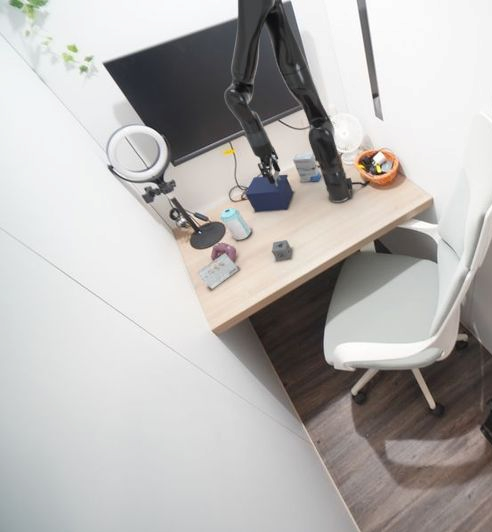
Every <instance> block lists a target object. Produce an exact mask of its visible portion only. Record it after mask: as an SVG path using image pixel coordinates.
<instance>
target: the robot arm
mask: <svg viewBox="0 0 492 532" xmlns="http://www.w3.org/2000/svg"><path fill="white" fill-rule="evenodd" d="M236 26H237V27H236V28H237V29H236V34H235V35H236V37H235V42H234V49H233V54H232V60H231V66H230V72H231V76H232V81H231V83H230V85H229V86H228V87H227V89H226V90H225V91H224V97H223V98H224V101H225V104H226V106H227V107H228V109H229V110H230V111H231V113H232V114H233V116H234V117H235V118H236V119H237V120H238V122H239V124H240V126H241V128H242V130H243V132H244V135H245V138H246V140H247V143H248V144H249V147H250V148H251V151H252V152H253V155H254V156H255V157H257V158H259V161H260V163H259V162H258V163H257V167H258V169H259V172H260V174H261V177H263V178H268V181H269V183H270V184H275V180H274V178H273V172H272V170H274V172H275V171H278V172H279V173H280V172H281V168H280V166H279V164H278V163H279V161H278V160H279V155H278V154H277V152H276V149H275V147H274V146H273V143H272V142H271V140H270V137H269V135H268V133H267V131H266V129H265V127H264V125H263V123H262V120H261V118H260V116H259V114H258V113H257V112H256V111H255V110H252V109H251V108H250V107H249V104H250V103H251V101H252V98H253V96H254V92H255V91H254V90H255V89H254V88H255V77H256V74H257V70H258V65H259V58H260V41H261V39H260V38H261V34H262V30H263V27H264V26H265V28H266V30H267V33H268V36H269V39H270V42H271V47H272V51H273V56H274V60H275V63H276V66H277V70H278V72H279V75H280V76H281V78H282V80H283V83H284V84H285V87H286V88H287V90H288V92H289V93H290V94H291V96H292V97H293V98H294V99H295V101H296V102H297V103H298V104H299V106H300V107H301V108H302V110H303V113H304V114H305V117H306V120H307V122H308V126H309V131H308V143H309V145H310V148H311V151H312V154H313V155H314V158H315V161H316V162H317V163H318V164H317V165H318V167H319V170H320V173H321V176H322V178H323V181H324V184H325V187H326V188H325V189H326V192H327V194H328V196H329V197H328V198H329V200H330V201H331V202H332V203H338V204H339V203H343V202H346V201H348V200H350V199H352V197H351V195H352V194H351V190H353V189H354V188H353V185H361V186H363V187H365V186H367V185H368V184H369V182H370V181H367V180H366V181H365V182H364V183H363V182H361V181H353V180H352V178H351V177H348V176H347V173H346V172H345V168H344V165H343V161H342V157H341V154H340V152H339V151H338V148H337V144H336V141H335V136H336V135H335V134H336V131H335V126H334V124H333V122H332V120H331V118H330V117H329V114H328V113H327V111H326V109H325V107H324V105H323V103H322V100H321V98H320V95H319V91H318V89H317V86H316V83H315V81H314V79H313V78H314V77H313V76H312V74H311V71H310V68H309V66H308V63H307V61H306V59H305V56H304V54H303V52H302V50H301V48H300V47H301V46H300V44H299V43H298V40H297V38H296V36H295V33H294V31H293V29H292V27H291V23H290V21H289V18H288V16H287V12H286V9H285V7H284V4H283V0H237V25H236Z"/></svg>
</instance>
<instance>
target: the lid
mask: <svg viewBox="0 0 492 532" xmlns="http://www.w3.org/2000/svg"><path fill="white" fill-rule="evenodd" d="M272 176H273V178H274V180H275V184H270V183H269V181H268V178H263V176H255V177H253V178H252V180H251V182H250V183H249V186H248V188H247V190H246V192H245V196H246V197H247V196H248V195H260V194H271V193H281V192H282V189H283V187H284V184H285V182H286V179H288V177H289V175H288V174H280V172H278V171H275V170H274V173H273V174H272Z"/></svg>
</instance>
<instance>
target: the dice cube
mask: <svg viewBox="0 0 492 532" xmlns="http://www.w3.org/2000/svg"><path fill="white" fill-rule="evenodd" d="M271 253H272V255H273V257H274V258H275V260H276V261H278V262H279V261H285V260H291V256H292V247H291V245H290V244H289V242H288V240H287V239H285V240H284V239H283V240H278V241H274V242H272V248H271Z"/></svg>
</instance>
